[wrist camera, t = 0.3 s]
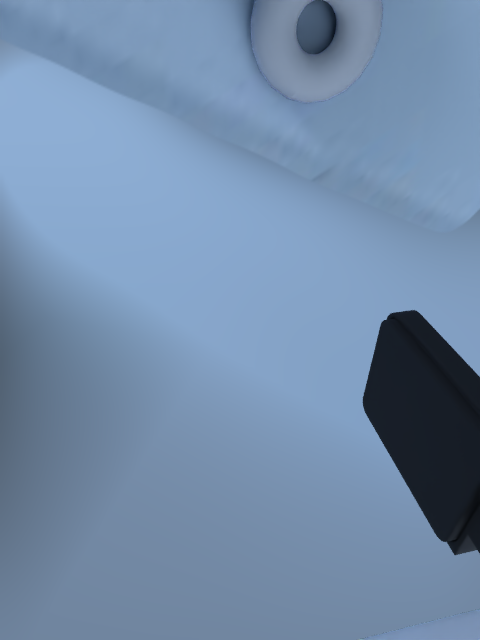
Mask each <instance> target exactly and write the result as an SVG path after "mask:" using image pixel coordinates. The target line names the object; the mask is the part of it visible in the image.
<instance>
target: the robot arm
mask: <svg viewBox="0 0 480 640" xmlns="http://www.w3.org/2000/svg"><path fill="white" fill-rule="evenodd" d="M363 407H364V410H365V413H366V414H367V416H368V418H369V420H370V422H371V423H372V425H373V427H374V428H375V430H376V432H377V434H378V435H379V437H380V439H381V441H382V442H383V444H384V446H385V448H386V449H387V451H388V453H389V454H390V456H391V458H392V460H393V461H394V463H395V465H396V467H397V468H398V470H399V472H400V473H401V475H402V477H403V479H404V480H405V482H406V484H407V486H408V487H409V489H410V491H411V492H412V494H413V496H414V497H415V499H416V501H417V503H418V504H419V506H420V508H421V510H422V511H423V513H424V515H425V517H426V518H427V520H428V522H429V523H430V525H431V527H432V529H433V530H434V532H435V534H436V535H437V537H438V538H439V539H440V540H441V541H443V542H447V543H448V545H449V546H450V548H451V550H452V552H453V553H454V555H458V554H462V553H466V552H470V551H474V550H478V551H479V553H480V377H479V376H478V375H477V374H476V373H475V372H474V371H473V369H472V368H471V367H470V366H469V365H468V364H467V363H466V362H465V361H464V360H463V359H462V358H461V357H460V356H459V355H458V354H457V352H456V351H455V350H454V349H453V348H452V347H451V346H450V345H449V344H448V343H447V342H446V341H445V340H444V339H443V337H441V335H440V334H439V333H438V332H437V331H436V330H435V329H434V328H433V327H432V326H431V325H430V324H429V323H428V322H427V320H425V319H424V317H423V316H422V315H421V314H420V313H419V312H417V311H415V310H411V311H403V312H396V313H392V314H390V315H389V316H388V317H387V320H384V321H383V322H382V323H381V326H380V330H379V335H378V338H377V343H376V347H375V351H374V355H373V359H372V363H371V367H370V371H369V375H368V380H367V384H366V388H365V392H364V396H363ZM359 640H480V609H477V610H473V611H469V612H465V613H460V614H457V615H453V616H449V617H445V618H441V619H437V620H433V621H429V622H425V623H421V624H418V625H414V626H410V627H406V628H402V629H398V630H394V631H391V632H386V633H382V634H379V635H375V636H371V637H367V638H363V639H359Z"/></svg>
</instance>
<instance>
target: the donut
mask: <svg viewBox="0 0 480 640" xmlns="http://www.w3.org/2000/svg"><path fill="white" fill-rule="evenodd" d="M312 1H314V0H255V3H254V7H253V12H252V17H251V43H252V49H253V52H254V55H255V58H256V61H257V65H258V68H259V70H260V71H261V73H262V74H263V76H264V77H265V78H266V80H267V81H268V83H269V84H270V86H271V87H272V88H273V89H275V90H276V91H278V92H279V93H280V94H282V95H283V96H285V97H286V98H288V99H292V100H295V101H299V102H303V103H311V102H320V101H326V100H328V99H330V98H332V97H335V96H337V95H339V94H341V93H343V92H344V91H345V90H346V89H347V88H349V87H350V86H351V85H352V84H353V83H354V82H355V81H356V80H357V79H358V78H359V77H360V76H361V74H362V73H363V71H364V70H365V68H366V67H367V65H368V64H369V62H370V60H371V59H372V57H373V54H374V51H375V48H376V46H377V43H378V40H379V37H380V33H381V24H382V15H383V5H382V0H323V1H326V2H328V3H329V4H330V5H331V6H332V8H333V10H334V12H335V16H336V21H337V23H336V32H335V35H334V38H333V40H332V42H331V43H330V45H329V46H328V47H327V48H326V49H325V50H324V51H323V52H321V53H319V54H309V53H306V52H305V51H304V50H303V49H302V48H301V46H300V45H299V43H298V39H297V35H296V32H297V22H298V19H299V16H300V14H301V12H302V10H303V9H304V8H305V7H306V6H307V5H308V4H309V3H310V2H312Z"/></svg>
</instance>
